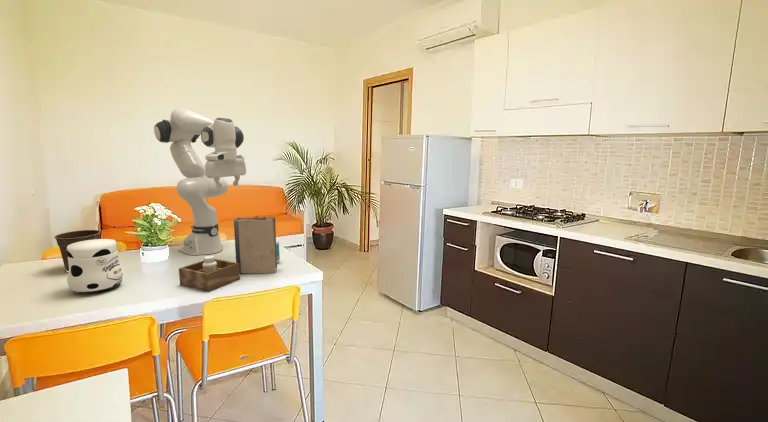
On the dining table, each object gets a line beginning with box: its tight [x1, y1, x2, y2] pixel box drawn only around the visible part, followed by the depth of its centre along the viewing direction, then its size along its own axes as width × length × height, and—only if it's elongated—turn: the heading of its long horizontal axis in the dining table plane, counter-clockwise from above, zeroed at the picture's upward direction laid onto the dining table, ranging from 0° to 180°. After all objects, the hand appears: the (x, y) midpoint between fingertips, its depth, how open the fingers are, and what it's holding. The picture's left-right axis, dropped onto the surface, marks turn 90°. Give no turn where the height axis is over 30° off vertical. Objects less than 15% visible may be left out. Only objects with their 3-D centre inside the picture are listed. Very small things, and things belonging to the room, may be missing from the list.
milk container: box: [66, 238, 124, 294], centre depth 153 cm, size 17×17×18 cm
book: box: [233, 215, 278, 274], centre depth 174 cm, size 17×7×25 cm, turn 98°
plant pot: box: [53, 229, 102, 271], centre depth 176 cm, size 16×16×16 cm
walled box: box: [178, 258, 241, 293], centre depth 162 cm, size 16×16×7 cm
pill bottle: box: [276, 238, 281, 264], centre depth 188 cm, size 8×7×14 cm
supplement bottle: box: [203, 255, 217, 273], centre depth 161 cm, size 5×5×10 cm
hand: (227, 186), depth 178 cm, fingers open, 8 cm apart
